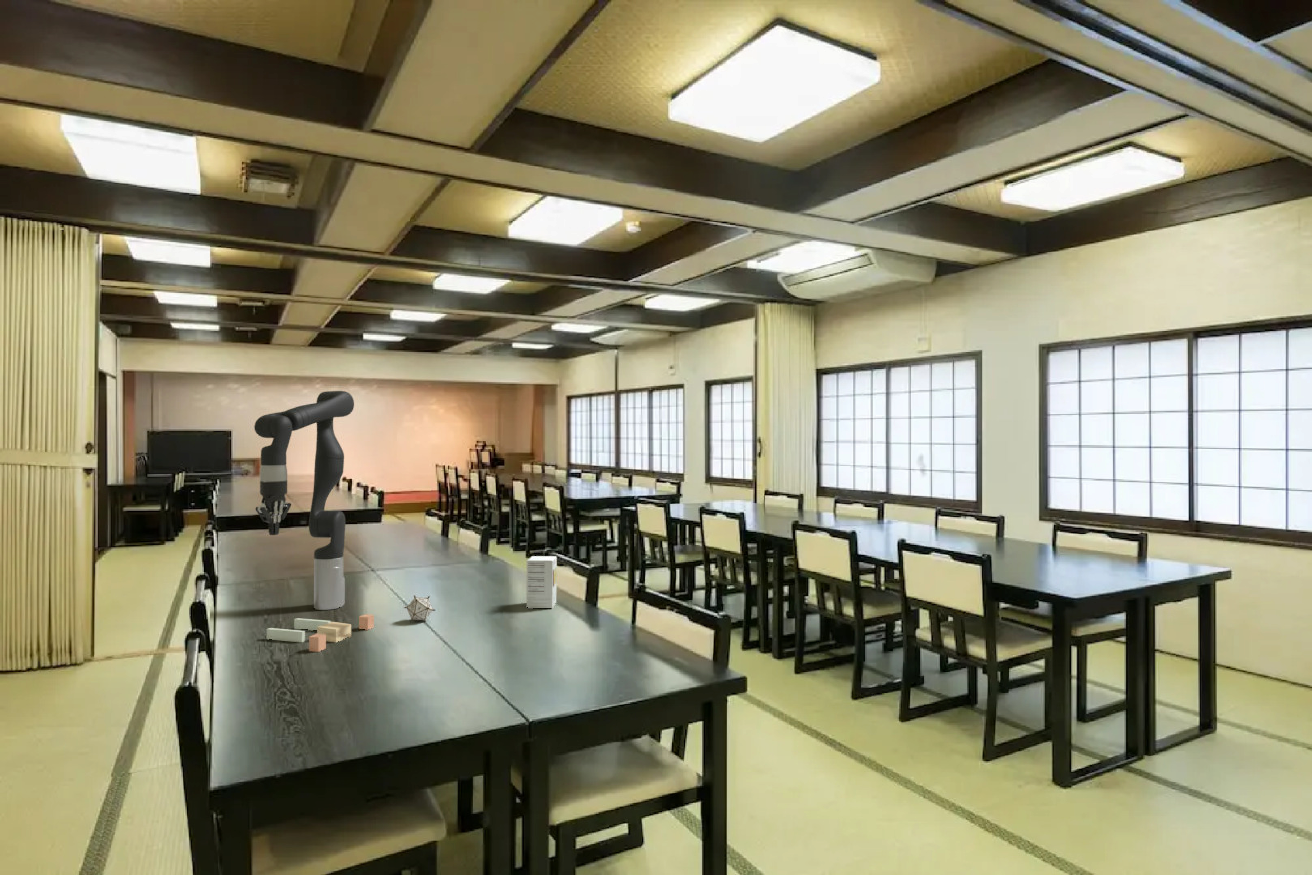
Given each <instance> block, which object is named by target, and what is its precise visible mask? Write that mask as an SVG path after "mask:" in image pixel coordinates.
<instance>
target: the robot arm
mask: <svg viewBox="0 0 1312 875" xmlns="http://www.w3.org/2000/svg"><path fill="white" fill-rule="evenodd" d="M316 398H317V399H316V402H314V403H307V404H303V405H299V406H295V407H293V408H289V409H287V410H285V411H284V410H283V411H279V412H272V413H268V414H264V415H261V416H260V417H259V418H257V419H256V420H255V423H254V426H253V427H254V432H255V433H256V435H258V437H261V438H265V439H272V442H271V444H270V445H266V446H263V447H262V448H261V450H260V470H259V494H260V495H261V496H262V499H261V504H260V505H259V506H256V507H255V511H256V513H257V514H258V515H259V517H260V519H261V521H262V522H265V523H268V534H269V535H270V536H277V535H279V534H280V523H281V521H282V520H285V518H286V516H287V514H288V513H289V511H290V508H291V506H292V503H291V502H287V501H286V499H287V498H286V496H285V495H287V494H288V469H287V468H288V467H287V451H288V448H289V444H290V441H291V437H292V433H293V432H295V431H298V430H300V429H301V430H302V429H304V428H305V427H309V426H311V425H314V424H316V444H315V445H316V447H315V458H314V468H313V469H314V474H313V488H312V489H313V492H312V498H311V507H310V511H309V512H310V513H309V519H308V532H309V535H310V536H311V537H312V538H322V539H324V538H325V539H327V538H328V539H329V538H330V541H329V543H328V544H326V545H323V546H321V547H318V548H316V549H315V550H314V552H313V574H314V575H313V579H314V580H313V608H315V609H314V610H318V611H319V610H320V611H321V610H322V611H325V610H329V611H330V610H334V609H340V608H343V606H344V605H346V602H345V600H346V578H345V576H344V551H345V550H344V549H345V540H346V539H345V538H346V537H345V536H346V535H345V534H346V515H345V514H344V512H342V511H341V510H325V506H326V503H327V502H326V501H327V500H328V497H329V496H330V494H331V491H333V489H334V488H335V487H336V485H337V484H338V483H339V481H340V479H341V478H342V476H343V474H344V466H345V453H344V450H343V448H342V446H341V444H340V442H339V441H338V439H337V437H336V434H335V431H334V430H335V429H334V418H343V417H348V416H349V415H351V414H352V412H353V411H354V408H355V407H354V406H355V402H354V401H355V400H354V398H353V396H352V394H351V393H350V392H347V391H344V390H330V391H322V392H320V393H319V394H318V395H317V397H316ZM339 607H340V608H339Z"/></svg>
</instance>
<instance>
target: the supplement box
mask: <svg viewBox="0 0 1312 875" xmlns="http://www.w3.org/2000/svg"><path fill="white" fill-rule="evenodd" d="M557 560H558V559H557V556H556V555H555V556H553V555H551V556H550V555H548V556H547V555H546V556H545V555H543V556H542V555H540V556H539V555H536V556H535V555H532V556H530V558H528V559H527V560H526V608H527V607H528V608H527V609H533V608H552V609H554V607H555V606H556V604H557V569H558V568H557V566H558V565H557V563H558V562H557ZM555 603H556V604H555Z"/></svg>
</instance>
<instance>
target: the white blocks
mask: <svg viewBox="0 0 1312 875" xmlns="http://www.w3.org/2000/svg"><path fill="white" fill-rule="evenodd" d="M293 622H294V627H293V628H294V629H287V628H285V629H284V628H276V627H269V628H266V640H269V639H272V640H271V641H285V642H294V643H295V642H296V643H304V642H306V630H301V629H308V630H307V631H313V630H317V627H318V626H321V625H324V624H327V623H330V622H332V620H325V619H324V620H323V619H311V618H301V617H300V618H299V617H298V618H294V621H293Z"/></svg>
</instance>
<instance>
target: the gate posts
mask: <svg viewBox="0 0 1312 875" xmlns="http://www.w3.org/2000/svg"><path fill="white" fill-rule="evenodd" d="M358 619H359V620H358V623H359V625H358V629H365V630H364V631H369V630H368V629H370V630H372V629H374V628H373V627H374V626H375V621H374V620H375V615H374V614H362V615H359V618H358ZM371 628H372V629H371ZM308 639H309V640H308V648H309V649H308V651H309V652H316V653H317V652H318V653H319V652H321V650H322V651H323V650H326V649H327V641H326V634H317V633H315V634H313V635H310V636H308Z"/></svg>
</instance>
